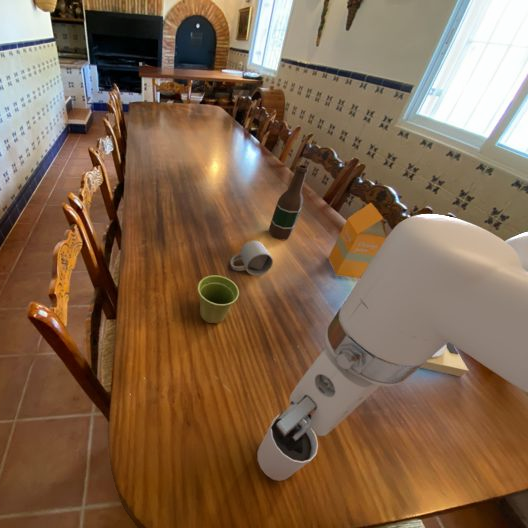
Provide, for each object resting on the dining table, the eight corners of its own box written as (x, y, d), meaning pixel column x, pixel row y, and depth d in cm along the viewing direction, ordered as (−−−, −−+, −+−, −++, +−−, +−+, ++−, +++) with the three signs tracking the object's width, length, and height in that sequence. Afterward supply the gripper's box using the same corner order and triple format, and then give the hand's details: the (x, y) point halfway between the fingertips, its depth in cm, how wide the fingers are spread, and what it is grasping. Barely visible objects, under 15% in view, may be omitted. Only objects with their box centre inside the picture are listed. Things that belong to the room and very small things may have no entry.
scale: (430, 323, 75) (439, 314, 73) (461, 376, 64) (472, 368, 62) (360, 309, 77) (366, 300, 75) (377, 358, 66) (385, 349, 64)
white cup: (296, 447, 51) (318, 422, 44) (294, 492, 46) (318, 471, 39) (257, 431, 52) (273, 405, 46) (251, 473, 47) (268, 450, 41)
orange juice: (352, 260, 94) (385, 204, 81) (362, 279, 87) (399, 220, 74) (327, 257, 94) (356, 200, 82) (335, 275, 87) (367, 216, 75)
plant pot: (239, 315, 73) (247, 290, 67) (215, 337, 67) (222, 311, 62) (209, 294, 78) (214, 270, 72) (185, 313, 72) (189, 288, 66)
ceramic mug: (259, 257, 91) (265, 237, 87) (269, 275, 85) (276, 254, 80) (226, 259, 90) (230, 238, 85) (234, 277, 84) (239, 256, 79)
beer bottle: (267, 237, 100) (290, 169, 85) (268, 226, 106) (288, 159, 91) (291, 242, 99) (318, 173, 84) (290, 230, 105) (315, 163, 90)
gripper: (356, 427, 22) (283, 489, 33) (454, 333, 30) (368, 409, 41) (280, 349, 26) (238, 427, 37) (382, 286, 34) (322, 365, 45)
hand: (306, 417), depth 39 cm, fingers open, 9 cm apart
